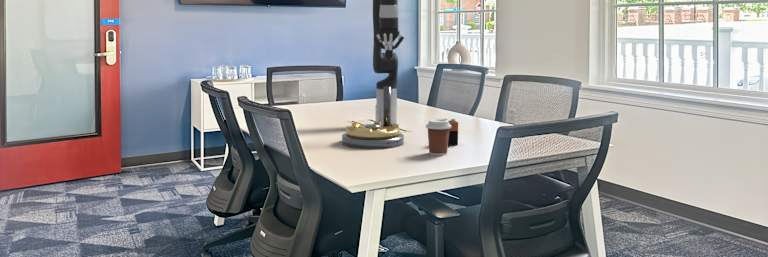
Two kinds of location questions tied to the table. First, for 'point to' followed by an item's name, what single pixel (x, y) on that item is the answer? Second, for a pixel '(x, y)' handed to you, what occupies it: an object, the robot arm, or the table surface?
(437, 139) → the coffee cup
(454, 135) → the battery
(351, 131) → the gold base with rod
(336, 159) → the table surface
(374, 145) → the cap housing
